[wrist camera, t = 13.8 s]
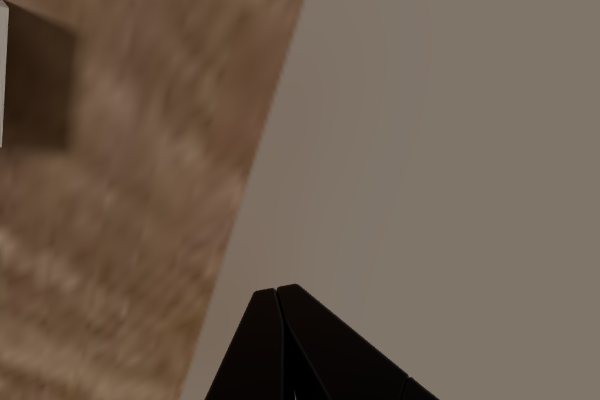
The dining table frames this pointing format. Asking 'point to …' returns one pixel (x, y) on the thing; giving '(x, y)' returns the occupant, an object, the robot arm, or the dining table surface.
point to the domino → (3, 58)
